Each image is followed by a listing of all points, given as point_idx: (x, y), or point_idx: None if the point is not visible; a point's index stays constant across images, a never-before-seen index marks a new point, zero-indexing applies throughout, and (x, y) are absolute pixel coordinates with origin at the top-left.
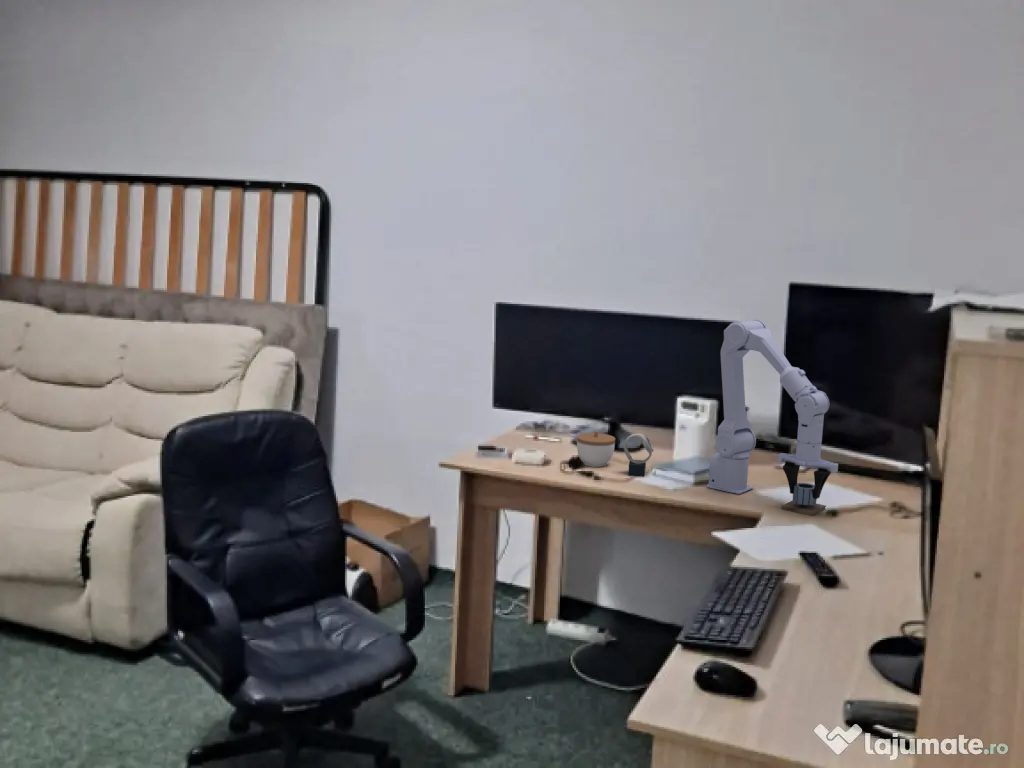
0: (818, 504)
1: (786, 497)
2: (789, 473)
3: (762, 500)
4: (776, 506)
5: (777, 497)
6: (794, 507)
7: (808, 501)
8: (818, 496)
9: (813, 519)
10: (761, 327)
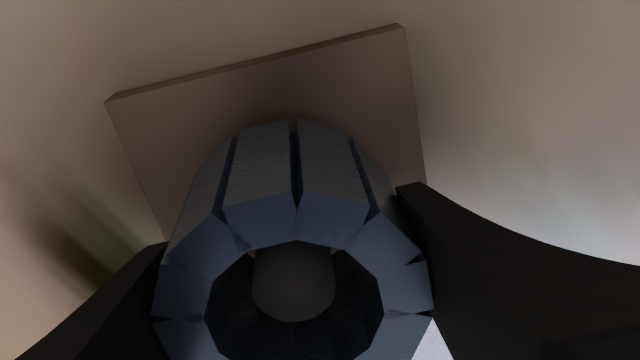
0: None
1: None
2: (530, 284)
3: (632, 86)
4: (465, 48)
5: (577, 242)
6: (299, 87)
7: (195, 181)
8: None
9: (26, 13)
10: None
